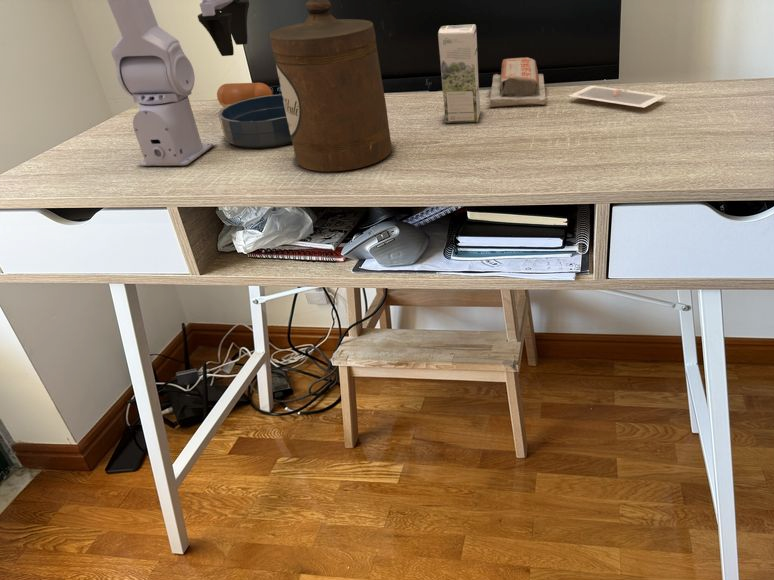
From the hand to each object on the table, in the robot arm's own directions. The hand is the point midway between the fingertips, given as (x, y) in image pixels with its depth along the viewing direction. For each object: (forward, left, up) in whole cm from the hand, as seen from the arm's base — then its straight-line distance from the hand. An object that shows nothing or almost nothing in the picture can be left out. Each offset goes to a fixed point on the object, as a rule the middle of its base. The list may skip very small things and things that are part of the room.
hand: (234, 49), depth 125 cm
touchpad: (-2, -70, -11) cm, 71 cm away
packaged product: (+5, -52, -11) cm, 53 cm away
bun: (-1, 0, -11) cm, 11 cm away
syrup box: (-9, -44, -11) cm, 46 cm away
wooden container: (-27, -28, -11) cm, 41 cm away
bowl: (-17, -12, -11) cm, 23 cm away
